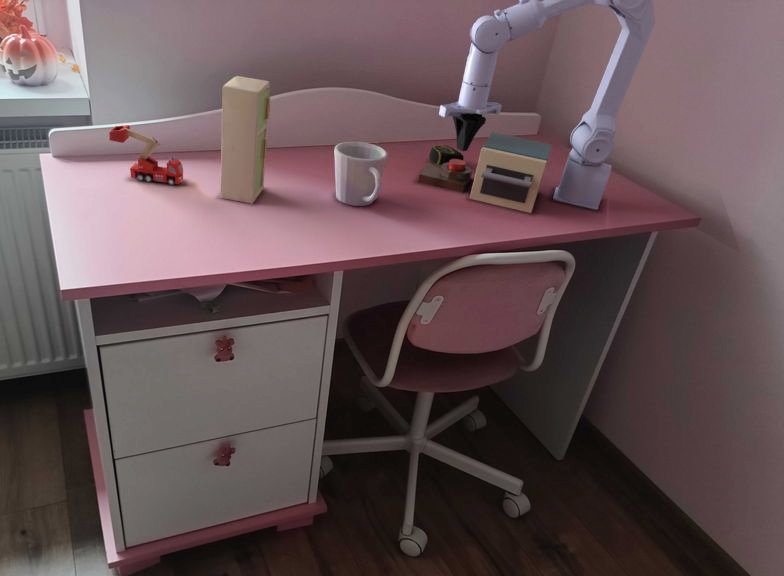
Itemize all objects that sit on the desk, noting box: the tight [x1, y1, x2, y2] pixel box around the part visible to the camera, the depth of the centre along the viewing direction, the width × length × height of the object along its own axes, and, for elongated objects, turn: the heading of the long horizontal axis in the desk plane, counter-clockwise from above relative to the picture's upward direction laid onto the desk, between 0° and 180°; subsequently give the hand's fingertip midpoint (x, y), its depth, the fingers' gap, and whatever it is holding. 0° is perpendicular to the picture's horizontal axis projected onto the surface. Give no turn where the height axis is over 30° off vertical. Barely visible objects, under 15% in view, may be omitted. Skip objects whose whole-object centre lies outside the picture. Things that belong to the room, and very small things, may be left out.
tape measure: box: [428, 144, 465, 165], centre depth 156 cm, size 7×7×4 cm
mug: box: [333, 141, 389, 207], centre depth 131 cm, size 10×15×10 cm
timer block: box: [417, 161, 473, 193], centre depth 148 cm, size 10×9×4 cm
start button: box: [448, 159, 467, 172], centre depth 146 cm, size 4×4×2 cm
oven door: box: [469, 146, 548, 214], centre depth 136 cm, size 5×13×11 cm, turn 69°
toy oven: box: [482, 131, 553, 204], centre depth 142 cm, size 11×13×11 cm
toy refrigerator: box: [220, 75, 271, 204], centre depth 125 cm, size 8×7×21 cm
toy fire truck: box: [108, 125, 184, 186], centre depth 130 cm, size 3×14×10 cm, turn 84°
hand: (461, 149), depth 142 cm, fingers closed
